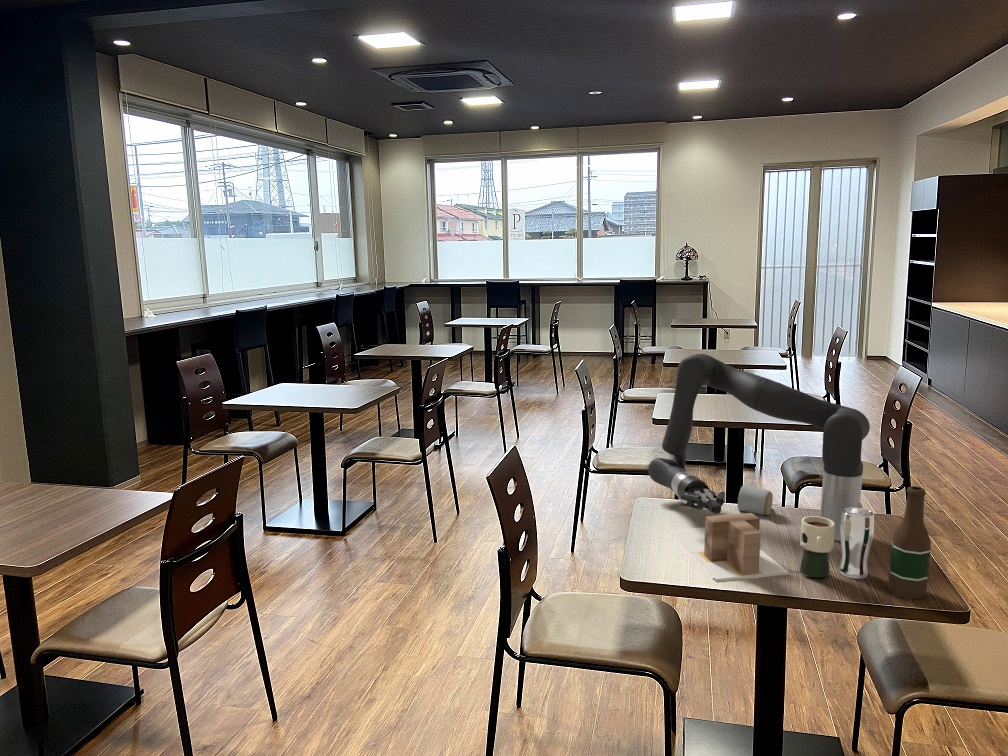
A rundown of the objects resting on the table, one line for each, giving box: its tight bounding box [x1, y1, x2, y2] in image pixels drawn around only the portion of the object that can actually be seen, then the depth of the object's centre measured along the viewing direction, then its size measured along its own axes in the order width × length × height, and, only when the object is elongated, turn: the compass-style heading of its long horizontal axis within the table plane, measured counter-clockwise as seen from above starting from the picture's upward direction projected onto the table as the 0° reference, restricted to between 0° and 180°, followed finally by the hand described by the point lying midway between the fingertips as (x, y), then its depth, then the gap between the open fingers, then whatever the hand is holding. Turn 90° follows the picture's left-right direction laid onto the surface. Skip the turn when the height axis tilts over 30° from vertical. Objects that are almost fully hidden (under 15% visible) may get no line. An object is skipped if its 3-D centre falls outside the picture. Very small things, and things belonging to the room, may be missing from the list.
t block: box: [704, 512, 762, 575], centre depth 181 cm, size 12×12×10 cm
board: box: [667, 526, 789, 582], centre depth 190 cm, size 29×18×1 cm, turn 10°
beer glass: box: [838, 507, 875, 580], centre depth 176 cm, size 7×7×15 cm
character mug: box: [799, 515, 835, 578], centre depth 176 cm, size 11×7×13 cm, turn 162°
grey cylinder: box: [737, 483, 774, 516], centre depth 216 cm, size 11×8×8 cm
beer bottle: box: [888, 485, 932, 600], centre depth 166 cm, size 8×8×24 cm
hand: (717, 510), depth 193 cm, fingers closed
